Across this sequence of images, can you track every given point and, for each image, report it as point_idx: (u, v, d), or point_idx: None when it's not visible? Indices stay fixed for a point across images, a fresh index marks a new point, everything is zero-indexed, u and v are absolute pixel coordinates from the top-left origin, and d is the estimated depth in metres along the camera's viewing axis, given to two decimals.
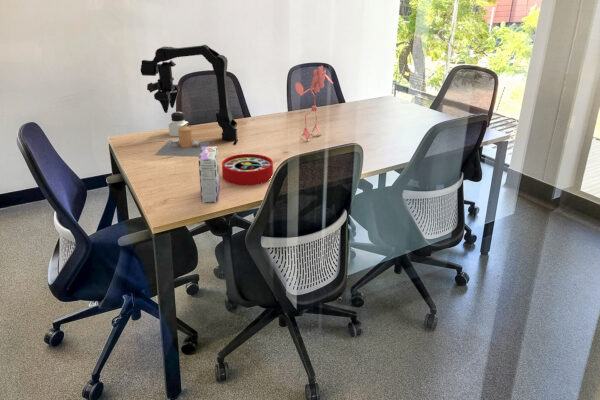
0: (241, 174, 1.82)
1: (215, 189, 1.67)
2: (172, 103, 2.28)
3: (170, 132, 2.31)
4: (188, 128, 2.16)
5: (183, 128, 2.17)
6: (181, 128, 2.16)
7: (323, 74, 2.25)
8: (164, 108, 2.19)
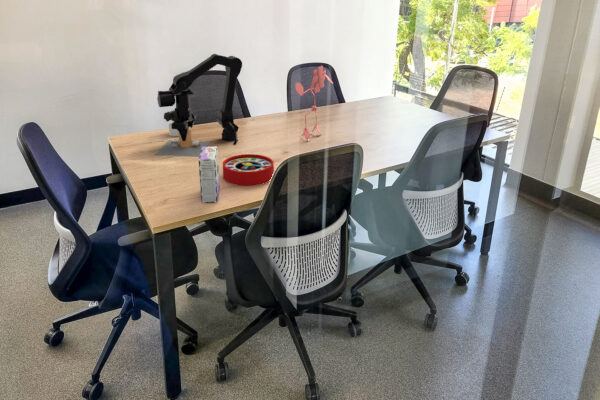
0: (241, 174, 1.81)
1: (215, 189, 1.67)
2: None
3: (170, 132, 2.31)
4: None
5: None
6: None
7: (323, 74, 2.25)
8: (182, 136, 2.14)
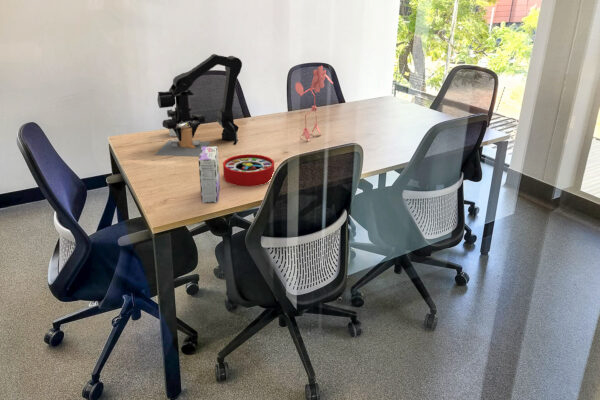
0: (241, 175, 1.81)
1: (215, 189, 1.67)
2: None
3: (170, 132, 2.31)
4: (187, 129, 2.15)
5: (184, 127, 2.17)
6: (182, 127, 2.17)
7: (323, 74, 2.25)
8: (177, 136, 2.16)
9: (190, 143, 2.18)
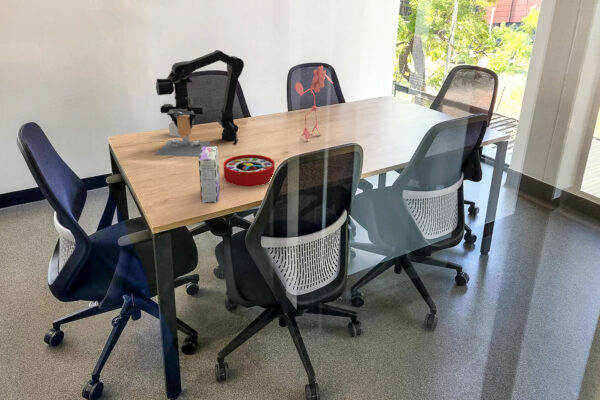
0: (242, 175, 1.81)
1: (215, 189, 1.67)
2: None
3: (170, 132, 2.31)
4: (182, 117, 2.13)
5: (184, 115, 2.15)
6: (183, 115, 2.15)
7: (323, 74, 2.25)
8: None
9: (184, 132, 2.14)
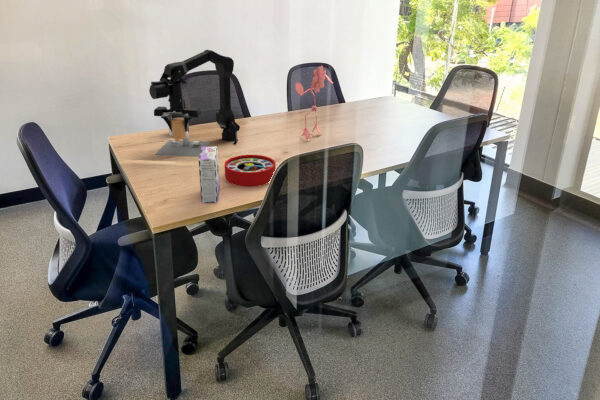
0: (243, 175, 1.81)
1: (215, 189, 1.67)
2: None
3: (170, 132, 2.31)
4: (177, 120, 2.05)
5: (178, 118, 2.07)
6: (177, 118, 2.07)
7: (323, 74, 2.25)
8: None
9: (179, 136, 2.06)
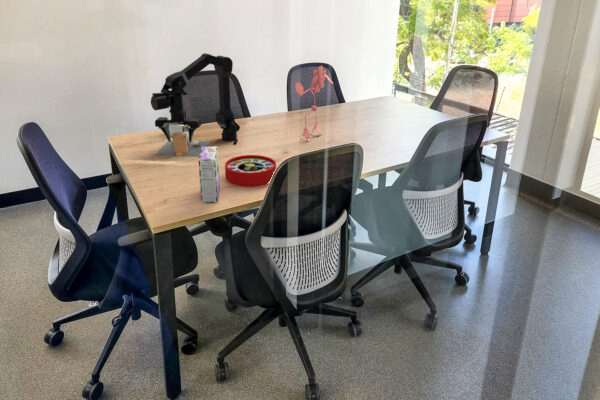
0: (243, 175, 1.81)
1: (215, 189, 1.67)
2: None
3: (170, 132, 2.31)
4: (178, 135, 2.07)
5: (180, 133, 2.10)
6: (179, 132, 2.10)
7: (323, 74, 2.25)
8: None
9: (180, 150, 2.09)
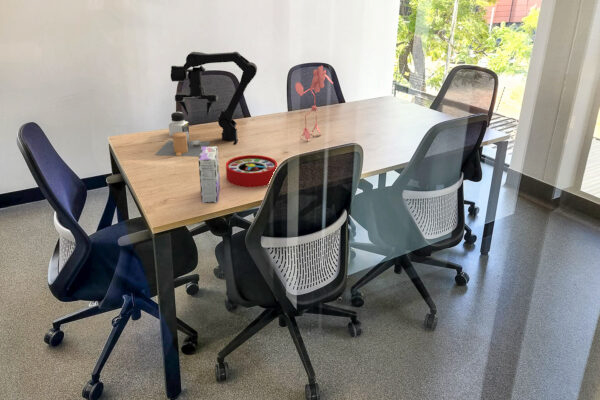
0: (244, 176, 1.80)
1: (215, 189, 1.67)
2: (207, 111, 2.22)
3: (170, 132, 2.31)
4: (178, 135, 2.07)
5: (180, 133, 2.10)
6: (179, 132, 2.10)
7: (323, 74, 2.25)
8: None
9: (180, 150, 2.09)
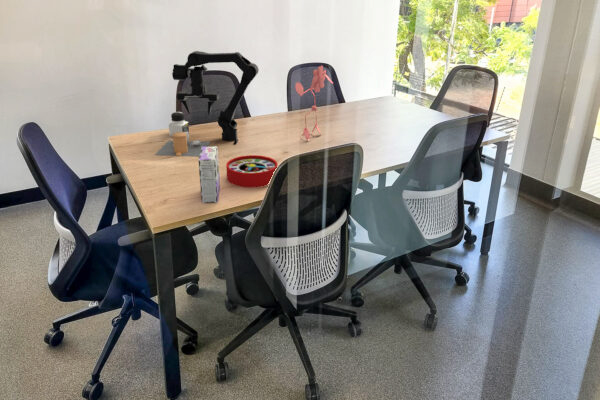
0: (245, 176, 1.80)
1: (215, 189, 1.67)
2: None
3: (170, 132, 2.31)
4: (178, 135, 2.07)
5: (180, 133, 2.10)
6: (179, 132, 2.10)
7: (323, 74, 2.25)
8: None
9: (180, 150, 2.09)
